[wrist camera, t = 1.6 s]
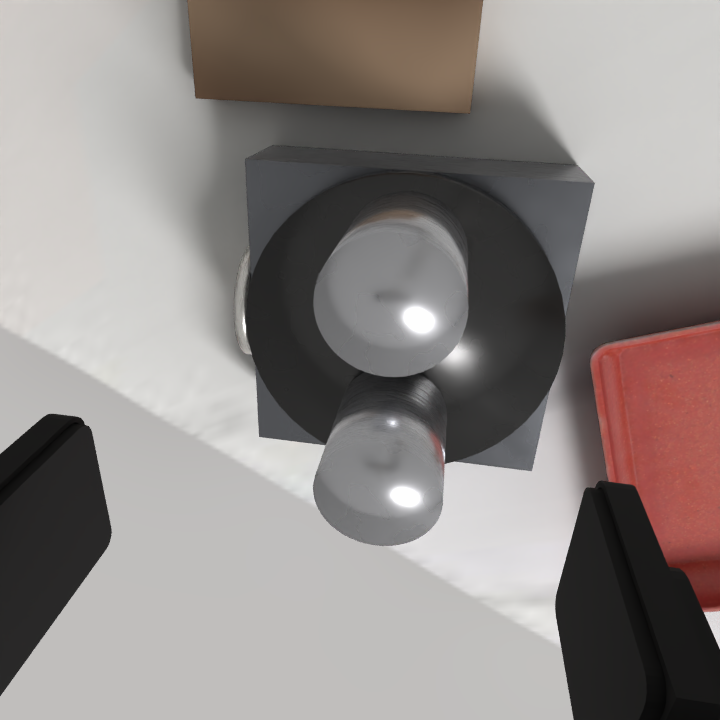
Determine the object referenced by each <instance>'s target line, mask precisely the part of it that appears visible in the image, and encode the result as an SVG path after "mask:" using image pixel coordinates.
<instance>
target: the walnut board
mask: <svg viewBox="0 0 720 720" xmlns="http://www.w3.org/2000/svg"><path fill="white" fill-rule="evenodd" d="M187 2H188V14H189V26H190V38H191V49H192V61H193V73H194V85H195V97H196V98H199V99H217V100H235V101H253V102H271V103H288V104H306V105H324V106H342V107H360V108H378V109H396V110H414V111H432V112H450V113H468V114H470V109H471V101H472V92H473V83H474V75H475V66H476V58H477V49H478V40H479V32H480V23H481V14H482V6H483V0H187Z"/></svg>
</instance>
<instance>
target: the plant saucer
mask: <svg viewBox="0 0 720 720" xmlns="http://www.w3.org/2000/svg"><path fill="white" fill-rule="evenodd" d="M590 369H591V375H592V381H593V388H594V394H595V401H596V409H597V415H598V420H599V426H600V433H601V440H602V446H603V453H604V459H605V465H606V473H607V477H608V482H615V483H623V484H631V485H634V486H635V487H636V489H637V491H638V493H639V496H640V498H641V501H642V503H643V506H644V508H645V510H646V513H647V515H648V518H649V520H650V523H651V525H652V528H653V530H654V532H655V535H656V537H657V540H658V542H659V545H660V547H661V550H662V552H663V554H664V557H665V559H666V562H667V564H668V567H674V568H680V569H681V570H682V571H684V572H685V574H686V575H687V577H688V579H689V580H690V583H691V585H692V587H693V590H694V592H695V594H696V596H697V599H698V601H699V603H700V605H701V608H702V610H703V612H714V611H720V320H719V321H714V322H709V323H704V324H699V325H693V326H688V327H683V328H678V329H673V330H668V331H663V332H657V333H652V334H647V335H642V336H637V337H632V338H627V339H622V340H617V341H612V342H608V343H604V344H602V345H600V346H598V347H597V348H595V349H594V350H593V352H592V354H591V357H590Z"/></svg>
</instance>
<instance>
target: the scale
mask: <svg viewBox="0 0 720 720" xmlns="http://www.w3.org/2000/svg"><path fill="white" fill-rule="evenodd" d="M245 166H246V186H247V206H248V226H249V246H248V247H247V249H246V251H245V253H244V255H243V257H242V260H241V263H240V266H239V270H238V275H237V280H236V286H235V295H234V324H235V332H236V337H237V341H238V344H239V346H240V348H241V350H242V351H243V352H244V353H246V354H251V355H252V357H253V360H254V362H255V365H256V383H257V403H258V423H259V437H265V438H273V439H281V440H289V441H297V442H304V443H312V444H320V445H326V444H327V441H328V438H329V435H330V432H331V430H332V427H333V424H334V421H335V418H336V415H337V413H338V410H339V407H340V404H341V401H342V398H343V395H344V393H345V391H346V389H347V387H348V386H349V385H350V383H351V382H352V381H353V380H354V379H355V378H356V377H358V376H359V375H361V374H362V373H364V371H362V370H359V369H357V368H355V367H353V366H352V365H350V364H348V363H347V362H346V361H344V360H343V359H341V358H340V357H339V356H338V355H337V354H336V353H335V352H334V351H333V350H332V349H331V348H330V346H329V345H328V344H327V342H326V341H325V339H324V338H323V336H322V334H321V332H320V330H319V328H318V325H317V322H316V319H315V314H314V304H313V299H314V290H315V285H316V282H317V279H318V276H319V274H320V272H321V270H322V268H323V266H324V265H325V263H326V262H327V260H328V259H329V257H330V256H331V254H332V253H333V251H334V249H335V248H336V246H337V245H338V243H339V242H340V240H341V239H342V237H343V236H344V234H345V233H346V231H347V230H348V228H349V227H350V225H351V224H352V222H353V220H354V219H355V218H356V216H357V215H358V213H359V212H360V211H361V210H362V209H363V208H364V207H365V206H366V205H368V204H369V203H370V202H371V201H373V200H375V199H376V198H378V197H380V196H383V195H385V194H389V193H392V192H398V191H414V192H420V193H424V194H427V195H429V196H432V197H434V198H436V199H438V200H439V201H441V202H442V203H444V204H445V205H446V206H447V207H449V208H450V210H451V211H452V212H453V213H454V214H455V215H456V217H457V218H458V219H459V221H460V223H461V225H462V227H463V229H464V232H465V235H466V239H467V247H468V318H467V323H466V327H465V330H464V332H463V335H462V337H461V339H460V341H459V343H458V344H457V345H456V347H455V348H454V350H453V351H452V352H451V353H450V354H449V355H448V356H447V357H446V358H445V359H444V360H442V361H441V362H440V363H439V364H437V365H435V366H434V367H432V368H430V369H428V370H426V371H424V372H421V373H420V374H422V375H423V376H425V377H426V378H428V379H429V380H430V381H431V382H432V383H433V384H434V385H435V386H436V387H437V388H438V389H439V391H440V392H441V394H442V396H443V398H444V400H445V404H446V408H447V425H446V445H445V464H446V463H450V462H454V461H456V462H463V463H471V464H479V465H487V466H495V467H503V468H511V469H519V470H527V471H532V468H533V463H534V458H535V454H536V449H537V445H538V440H539V436H540V431H541V426H542V422H543V417H544V413H545V408H546V404H547V399H548V394H549V390H550V388H551V385H552V383H553V381H554V379H555V377H556V375H557V372H558V369H559V365H560V362H561V359H562V355H563V349H564V342H565V317H566V312H567V307H568V303H569V298H570V294H571V289H572V284H573V280H574V275H575V271H576V266H577V262H578V257H579V252H580V248H581V243H582V239H583V234H584V230H585V225H586V220H587V216H588V211H589V207H590V202H591V198H592V193H593V188H594V184H595V183H594V182H593V181H592V180H591V179H590V178H589V176H588V175H587V174H586V173H585V172H584V171H583V170H582V169H581V168H580V167H579V166H578V165H567V164H552V163H536V162H521V161H505V160H490V159H475V158H459V157H444V156H428V155H413V154H397V153H382V152H366V151H351V150H336V149H320V148H305V147H289V146H274V145H272V146H270V147H268V148H266V149H264V150H262V151H260V152H258V153H256V154H254V155H252V156H250V157H248V158H246V159H245Z"/></svg>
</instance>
